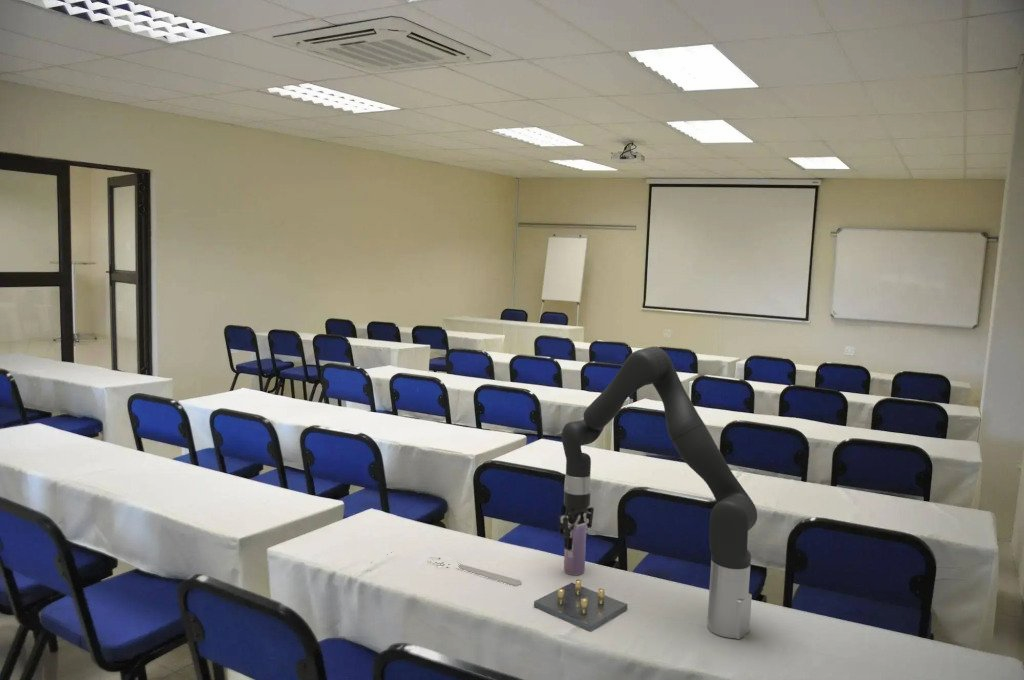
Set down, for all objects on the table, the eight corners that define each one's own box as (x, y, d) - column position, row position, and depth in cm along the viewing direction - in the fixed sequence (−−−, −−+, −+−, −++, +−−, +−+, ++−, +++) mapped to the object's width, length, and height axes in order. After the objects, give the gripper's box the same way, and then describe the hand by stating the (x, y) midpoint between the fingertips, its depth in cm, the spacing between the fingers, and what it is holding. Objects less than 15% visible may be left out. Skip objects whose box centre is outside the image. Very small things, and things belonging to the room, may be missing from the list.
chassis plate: (627, 609, 188) (628, 591, 188) (590, 631, 177) (591, 611, 176) (571, 587, 200) (572, 570, 200) (533, 606, 189) (534, 588, 188)
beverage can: (588, 571, 211) (590, 521, 210) (575, 577, 207) (577, 526, 205) (572, 565, 215) (574, 516, 214) (559, 571, 211) (561, 521, 209)
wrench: (436, 555, 221) (436, 552, 221) (528, 580, 205) (528, 578, 205) (419, 564, 214) (419, 561, 214) (513, 591, 198) (513, 588, 198)
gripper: (572, 498, 201) (570, 557, 202) (602, 487, 211) (600, 543, 213) (551, 491, 206) (549, 549, 207) (581, 481, 216) (579, 536, 218)
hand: (575, 546), depth 210 cm, fingers closed on beverage can, 6 cm apart
